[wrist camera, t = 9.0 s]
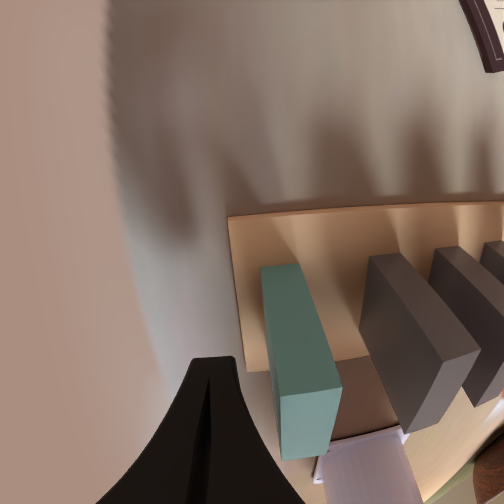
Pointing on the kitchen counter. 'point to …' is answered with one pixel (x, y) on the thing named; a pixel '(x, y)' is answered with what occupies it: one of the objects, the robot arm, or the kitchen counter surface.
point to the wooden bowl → (489, 473)
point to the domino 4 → (494, 259)
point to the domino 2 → (413, 341)
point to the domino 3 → (474, 316)
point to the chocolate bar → (487, 30)
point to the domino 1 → (298, 364)
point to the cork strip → (346, 258)
